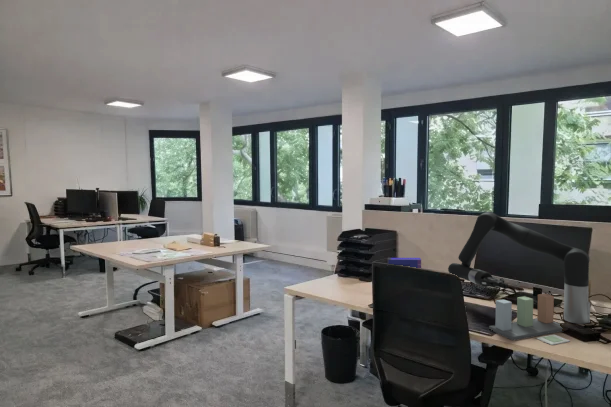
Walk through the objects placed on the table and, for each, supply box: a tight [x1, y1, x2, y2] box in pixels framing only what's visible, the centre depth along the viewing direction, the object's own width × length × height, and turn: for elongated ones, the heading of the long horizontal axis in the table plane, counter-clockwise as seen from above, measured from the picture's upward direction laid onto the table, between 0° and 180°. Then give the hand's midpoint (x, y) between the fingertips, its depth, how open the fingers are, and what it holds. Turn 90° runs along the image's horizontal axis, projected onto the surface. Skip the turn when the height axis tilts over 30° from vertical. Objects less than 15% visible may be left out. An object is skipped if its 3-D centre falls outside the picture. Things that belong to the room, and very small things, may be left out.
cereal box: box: [387, 257, 422, 269], centre depth 218 cm, size 17×5×24 cm, turn 84°
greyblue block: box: [494, 299, 513, 331], centre depth 173 cm, size 4×4×12 cm
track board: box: [488, 317, 563, 341], centre depth 175 cm, size 31×13×2 cm, turn 108°
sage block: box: [516, 296, 534, 327], centre depth 176 cm, size 4×4×12 cm
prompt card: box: [536, 333, 571, 346], centre depth 164 cm, size 10×7×1 cm
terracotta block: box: [536, 293, 555, 323], centre depth 180 cm, size 4×4×12 cm
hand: (506, 286), depth 185 cm, fingers closed
